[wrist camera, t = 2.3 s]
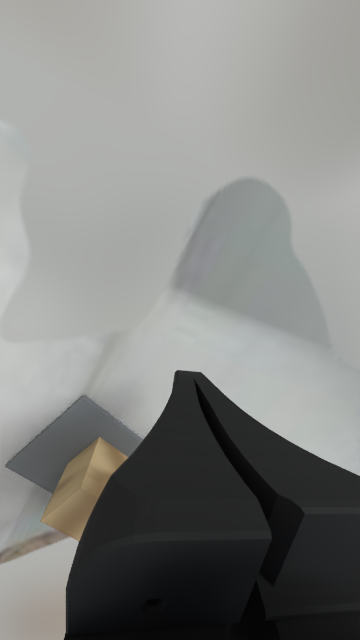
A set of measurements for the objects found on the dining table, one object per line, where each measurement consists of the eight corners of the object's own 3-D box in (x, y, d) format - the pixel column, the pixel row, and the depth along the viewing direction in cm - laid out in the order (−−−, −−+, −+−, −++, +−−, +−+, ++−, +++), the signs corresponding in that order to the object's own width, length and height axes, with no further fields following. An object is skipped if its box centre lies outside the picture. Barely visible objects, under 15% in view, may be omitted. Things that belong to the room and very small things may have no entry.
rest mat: (175, 465, 23) (176, 468, 23) (105, 519, 25) (104, 523, 24) (83, 394, 20) (82, 397, 19) (7, 462, 21) (4, 466, 21)
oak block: (133, 460, 22) (125, 515, 17) (102, 485, 23) (86, 544, 18) (99, 436, 21) (80, 488, 16) (67, 463, 21) (40, 521, 16)
